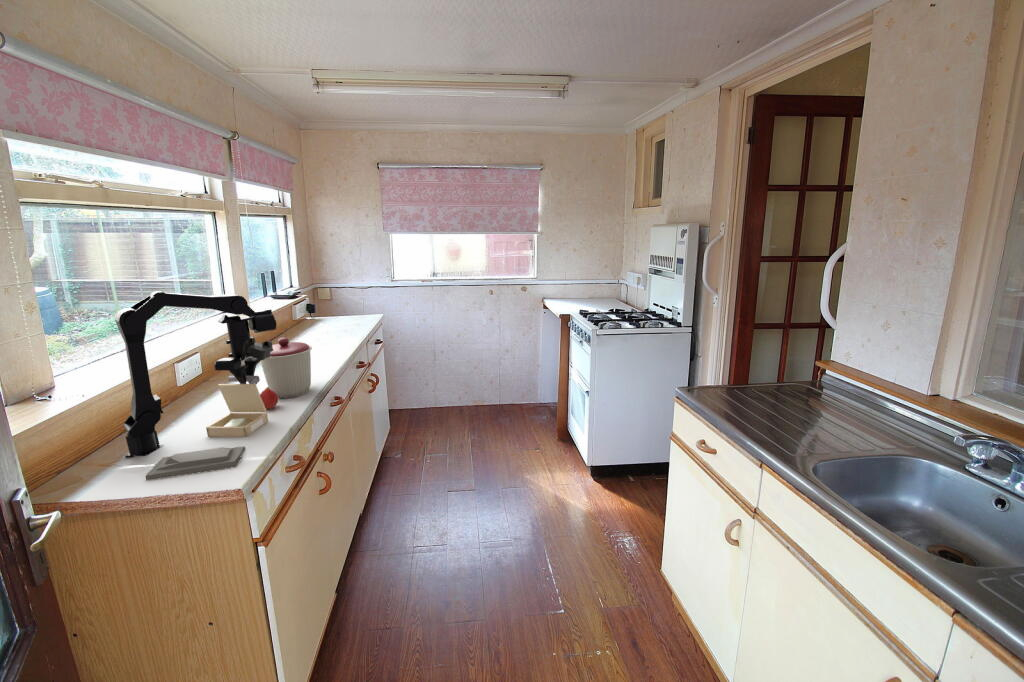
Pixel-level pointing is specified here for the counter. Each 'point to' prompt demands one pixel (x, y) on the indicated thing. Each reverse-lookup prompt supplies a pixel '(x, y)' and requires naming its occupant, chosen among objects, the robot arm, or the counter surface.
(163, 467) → the soap mold
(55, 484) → the counter surface
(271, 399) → the onion
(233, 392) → the flap
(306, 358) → the canister
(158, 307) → the robot arm
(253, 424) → the carton
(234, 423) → the soap bar
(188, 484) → the counter surface
